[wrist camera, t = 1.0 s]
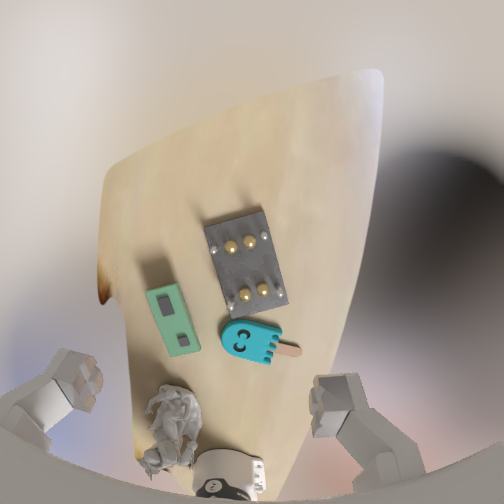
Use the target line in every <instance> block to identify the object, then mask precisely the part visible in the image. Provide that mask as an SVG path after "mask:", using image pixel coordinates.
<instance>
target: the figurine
mask: <svg viewBox="0 0 504 504" xmlns="http://www.w3.org/2000/svg"><path fill="white" fill-rule="evenodd" d="M161 401H162V404H161V406H160V407H159V408H158V409H157V415H156V418H155V420H154V421H153V424H152V425H151V426H150V427H149V428H148V429H147V430H146V431H148V430H152V429H154V431H153V433H152V434H153V437H154V439H155V440H156V441H157V444H155V445H153V446H152V447H151V448H150V449H147V450H145V452H144V457H143V458H141V460H139V462H140V465H141V466H142V467H144V468H145V471H146V473H147V474H148V476H149V475H150V479H151V480H152V474H158V473H159V472H160V470H161V469H163V468H169V467H173V466H175V465H178V466H186V465H188V464H191V465H192V469H193V463H194V451H195V450H196V448H197V447H198V445H197V443H196V442H197V440H196V439H197V437H198V434H199V430H200V428H201V427H202V424H203V421H202V418H201V408H200V404H199V402H198V400H197V398H196V396H195V394H194V393H193V392H191V391H189V390H188V389H184V388H182V387H180V386H170V385H168V384H165V385H162V386H161V387H160V388H159V394H158V395H156V396H155V397H153V398H151V399H150V400H149V402H148V406H147V410H146V411H145V413H144V414H145V415H149V414H148V413H150V412H152V411H151V409H152V406H153V405H154V404H155V403H156V402H161ZM152 415H153V412H152ZM182 435H186V436H188V437H189V438H190V439H191V440H192V441H191V442H190V441H188V443H187V448H186V450H185V451H184V452H183V454H182V455H180V452H179V451H180V449H181V447H182V444H183V438H182ZM192 460H193V463H192ZM149 473H150V474H149Z"/></svg>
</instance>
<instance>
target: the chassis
mask: <svg viewBox="0 0 504 504" xmlns="http://www.w3.org/2000/svg"><path fill="white" fill-rule="evenodd" d="M204 231H205V234H206V238H207V241H208V244H209V248H210V250H209V252H210V253H211V254H212V258H213V261H214V264H215V268H216V271H217V274H218V277H219V281H220V284H221V287H222V290H223V293H224V297H225V300H226V303H227V309H228V310H229V312H230V315H231V318H232V319H234V318H238V317H242V316H246V315H250V314H254V313H258V312H262V311H265V310H269V309H273V308H276V307H280V306H283V305H287V304H289V303H288V299H287V295H286V291H285V287H284V283H283V279H282V276H281V272H280V268H279V264H278V261H277V257H276V253H275V249H274V246H273V242H272V238H271V235H270V231H269V227H268V224H267V220H266V216H265V213H264V211H261V212H258V213H254V214H251V215H247V216H243V217H240V218H236V219H233V220H229V221H226V222H222V223H219V224H216V225H212V226H209V227H205V228H204Z"/></svg>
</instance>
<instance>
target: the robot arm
mask: <svg viewBox="0 0 504 504" xmlns="http://www.w3.org/2000/svg"><path fill="white" fill-rule="evenodd" d="M96 363H97V362H96V360H95V359H94V357H93V356H90V355H86V354H82V353H78V352H74V351H71V350H67V349H63V348H62V349H60V350H59V351H58V352H57V354H56V355H55V357H54V358H53V360H52V361H51V363H50V364H49V366H48V367H47V369H46V370H45V372H44V374H43V375H38V376H36V377H34V378H33V379H31V380H30V381H27V382H26V383H24V384H22V385H20V386H18V387H17V388H15V389H13V390H11V391H10V392H8V393H6V394H4V395H3V396H1V398H0V504H504V442H497V443H494V444H492V445H490V446H488V447H487V448H485V449H483V450H481V451H479V452H477V453H475V454H473V455H471V456H469V457H466V458H464V459H462V460H460V461H458V462H455V463H453V464H450V465H448V466H446V467H443V468H441V469H438V470H435V471H433V472H430V473H427V474H426V471H425V468H424V464H423V461H422V458H421V455H420V452H419V449H418V446H417V443H415V442H414V441H413V440H411V439H410V438H409V437H407V435H405V434H404V433H403V432H401V431H400V430H399V429H398V428H397V427H395V426H394V425H393V424H392V423H391V422H389V421H388V420H387V419H386V418H385V417H383V416H382V415H381V414H380V413H379V412H377V411H376V410H375V409H374V408H369V406H368V402H367V399H366V396H365V392H364V389H363V386H362V383H361V380H360V377H359V374H358V373H346V374H328V375H316V376H315V377H314V380H313V384H314V387H313V388H312V389H311V391H310V395H309V411H310V414H311V415H313V419H312V422H311V426H312V433H313V438H320V437H335V436H336V438H337V439H338V440H339V442H340V443H341V444H342V445H343V446H344V448H345V449H346V450H347V451H348V452H349V453H350V454H351V456H352V457H353V458H354V459H355V460H356V461H357V462H358V463H359V464H360V466H361V467H362V468H363V469H364V470H363V471H362V472H361V473H360V474H359V475H358V476H356V477H355V479H354V480H353V481H352V483H353V490H354V493H352V494H345V495H339V496H332V497H324V498H315V499H305V500H290V501H257V500H258V493H263V491H264V490H265V489H266V482H265V472H264V462H263V460H262V459H260V458H255V457H250V456H248V455H246V454H244V453H241V452H238V451H234V450H228V449H216V450H210V451H207V452H204V453H202V454H201V455H200V456H199V457H198V458H197V461H196V463H195V464H193V469H192V465H191V466H190V471H191V472H192V473H193V485H192V489H193V491H194V492H195V493H196V496H188V495H182V494H176V493H170V492H165V491H160V490H155V489H151V488H146V487H143V486H138V485H134V484H131V483H128V482H124V481H120V480H117V479H114V478H111V477H108V476H105V475H102V474H99V473H96V472H93V471H91V470H88V469H85V468H83V467H80V466H78V465H75V464H73V463H70V462H68V461H66V460H63V459H61V458H59V457H57V456H54V455H53V454H51V453H48V452H49V449H50V447H51V445H52V441H51V439H50V438H49V437H48V436H47V435H46V434H45V432H46V431H47V430H49V429H50V428H51V427H52V426H54V425H55V424H56V423H57V422H59V421H60V420H61V419H62V418H63V417H65V416H66V415H67V414H68V413H69V412H71V411H72V410H73V408H75V409H78V410H82V411H85V412H89V413H90V412H91V410H92V408H93V406H94V404H95V402H96V399H95V395H96V394H98V393H99V392H100V391H101V388H102V385H103V376H102V373H101V371H100V369H98V368H97V367H96V366H95V365H96Z"/></svg>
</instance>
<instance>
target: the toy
mask: <svg viewBox="0 0 504 504" xmlns="http://www.w3.org/2000/svg"><path fill="white" fill-rule="evenodd" d="M275 335H282V330H281V329H279V328H275V327H272V326H268V325H264V324H260V323H257V322H253V321H249V320H244V319H238V320H234V321H231V322H229V323H228V324H227V325H226V326H225V328H224V329H223V332H222V335H221V342H222V345H223V347H224V349H225V350H226V351H227V352H228V353H230V354H231V355H234V356H236V357H240V358H244V359H247V360H251V361H255V362H259V363H263V364H268V365H270V363H271V359H270V358H272V357H273V352H275V353H279V354H283V355H288V356H292V357H298V356H300V355H302V350H301V349H300V348H299V347H295V346H291V345H287V344H282V343H278V342H279V337H278V336H275ZM268 357H270V358H268Z"/></svg>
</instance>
